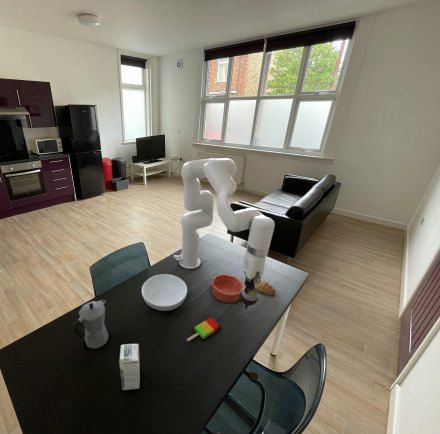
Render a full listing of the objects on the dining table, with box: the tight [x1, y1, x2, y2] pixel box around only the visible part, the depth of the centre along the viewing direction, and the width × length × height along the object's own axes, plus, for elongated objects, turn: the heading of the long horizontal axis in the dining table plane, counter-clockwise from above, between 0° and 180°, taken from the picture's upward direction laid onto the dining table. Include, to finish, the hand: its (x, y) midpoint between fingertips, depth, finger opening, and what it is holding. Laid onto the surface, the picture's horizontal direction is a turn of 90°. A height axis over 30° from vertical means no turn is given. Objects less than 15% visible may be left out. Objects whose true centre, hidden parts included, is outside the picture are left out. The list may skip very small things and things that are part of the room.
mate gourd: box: [238, 270, 259, 310], centre depth 96 cm, size 8×8×15 cm
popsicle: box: [186, 317, 220, 342], centre depth 96 cm, size 6×15×2 cm, turn 123°
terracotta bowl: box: [210, 273, 244, 304], centre depth 116 cm, size 15×15×5 cm
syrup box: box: [119, 343, 141, 391], centre depth 76 cm, size 6×6×14 cm
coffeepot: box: [71, 299, 110, 349], centre depth 89 cm, size 15×9×18 cm, turn 147°
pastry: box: [254, 278, 277, 296], centre depth 117 cm, size 9×7×4 cm
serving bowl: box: [141, 273, 188, 312], centre depth 111 cm, size 21×21×7 cm
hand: (249, 286), depth 96 cm, fingers closed on mate gourd, 1 cm apart
